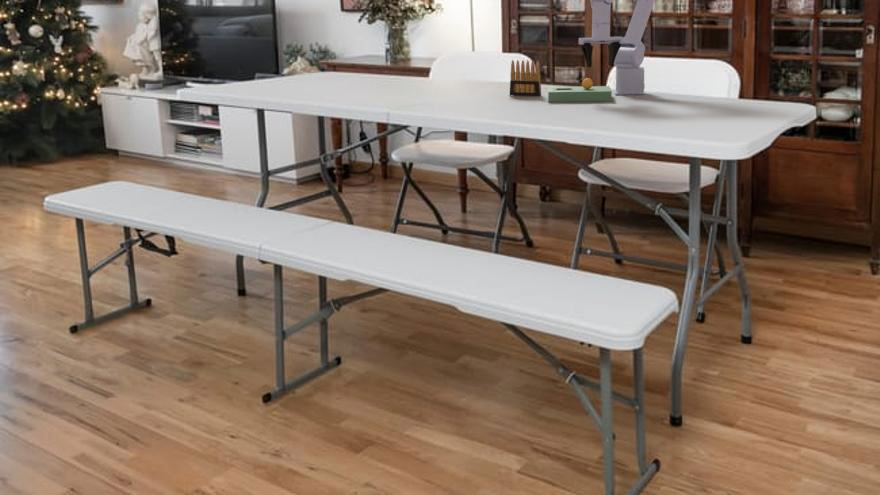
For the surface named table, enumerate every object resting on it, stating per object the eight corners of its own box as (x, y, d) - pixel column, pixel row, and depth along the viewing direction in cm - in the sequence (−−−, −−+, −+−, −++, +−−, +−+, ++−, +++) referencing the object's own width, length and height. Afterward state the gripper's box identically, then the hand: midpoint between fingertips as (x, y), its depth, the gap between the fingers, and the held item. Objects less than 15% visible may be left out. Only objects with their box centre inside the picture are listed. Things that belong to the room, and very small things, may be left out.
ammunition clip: (541, 95, 337) (541, 59, 333) (539, 96, 335) (539, 60, 332) (511, 95, 341) (511, 59, 337) (509, 95, 339) (509, 60, 336)
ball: (592, 88, 325) (592, 77, 324) (592, 89, 322) (593, 78, 321) (581, 88, 326) (581, 77, 325) (581, 89, 323) (582, 78, 322)
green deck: (609, 96, 331) (609, 86, 330) (611, 101, 317) (611, 91, 316) (548, 96, 333) (548, 86, 332) (548, 102, 320) (548, 92, 319)
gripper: (616, 22, 325) (615, 64, 328) (575, 23, 321) (574, 66, 325) (626, 23, 318) (624, 66, 322) (583, 24, 315) (582, 68, 318)
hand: (600, 66), depth 323 cm, fingers open, 7 cm apart
